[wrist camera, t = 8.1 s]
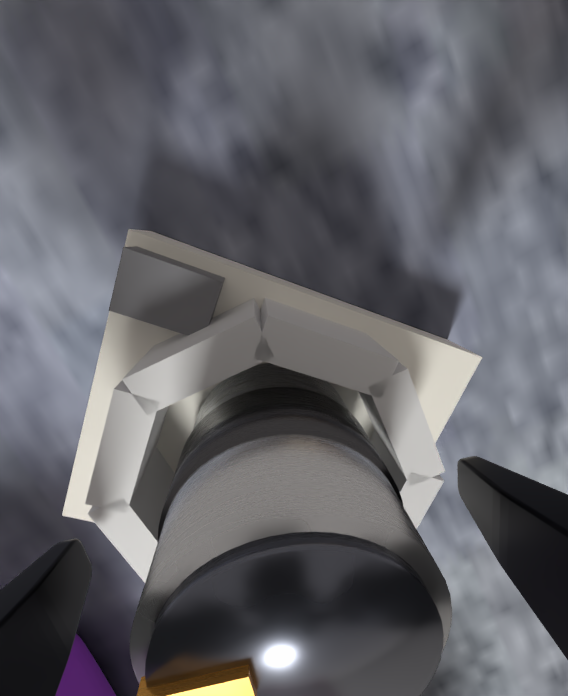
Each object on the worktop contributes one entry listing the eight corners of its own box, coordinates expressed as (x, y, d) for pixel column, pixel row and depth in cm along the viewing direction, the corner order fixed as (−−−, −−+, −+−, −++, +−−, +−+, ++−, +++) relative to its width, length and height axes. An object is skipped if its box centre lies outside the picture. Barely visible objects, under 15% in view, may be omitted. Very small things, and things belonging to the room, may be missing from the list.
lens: (360, 484, 12) (476, 742, 6) (213, 516, 12) (171, 816, 6) (342, 344, 10) (474, 496, 4) (171, 378, 10) (50, 587, 4)
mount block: (448, 339, 13) (546, 390, 8) (347, 535, 15) (385, 652, 11) (150, 231, 11) (82, 225, 7) (89, 475, 13) (10, 588, 9)
